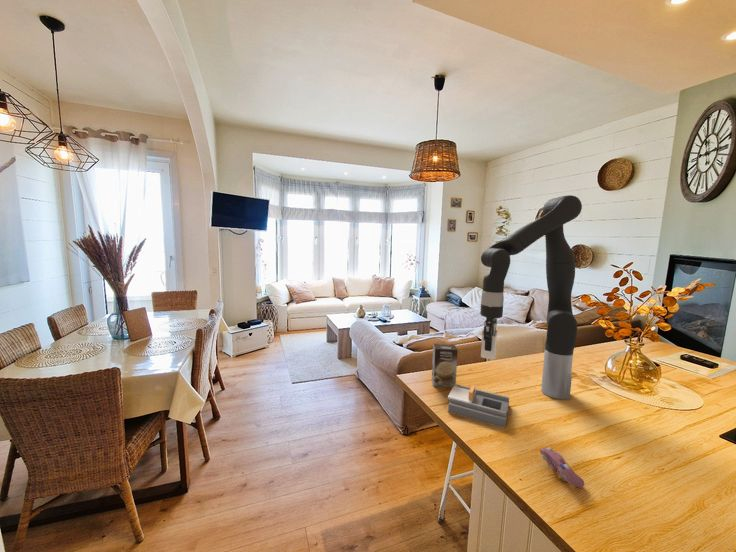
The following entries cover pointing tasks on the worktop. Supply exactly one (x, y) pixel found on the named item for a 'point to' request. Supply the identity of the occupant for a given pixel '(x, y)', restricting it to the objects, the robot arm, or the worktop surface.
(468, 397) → the shutter
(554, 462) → the pink curved piece
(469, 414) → the grey sliding panel box
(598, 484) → the worktop surface
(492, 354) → the plug
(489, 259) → the robot arm
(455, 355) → the coffee box
